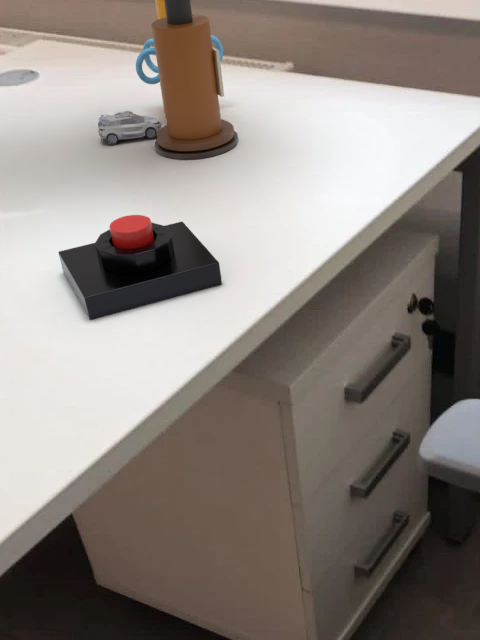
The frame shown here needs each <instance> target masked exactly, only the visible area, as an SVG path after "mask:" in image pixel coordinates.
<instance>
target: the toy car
mask: <svg viewBox="0 0 480 640" xmlns="http://www.w3.org/2000/svg"><path fill="white" fill-rule="evenodd" d="M97 127H98V131H97V132H98V135H99V137H100V139H101V142H104V141H103V140H106V142H107V144H108V145H110V146H115V145H117V144H118V142H119V141H120V140H122V141H123V140H130V139H139V138H144V137H146V138H147V139H149V140H153V139H155V138H157V132H158V131H159V130H160V129H161V128H163V127H164V126H162V122H161V120H160V119H159V118H157V117H156V116H153V115H139V114H136V113H134V112H133V111H130V110H124V111H120V112H116V113H114V114H100V116H98V122H97Z"/></svg>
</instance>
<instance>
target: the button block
mask: <svg viewBox="0 0 480 640" xmlns="http://www.w3.org/2000/svg"><path fill="white" fill-rule="evenodd" d="M151 224H152V229H153V235H154V241H153V242H152V243H150V244H148V245H147V246H143V247H139V248H135V249H119V248H116V247H114V245H113V241H112V236H111V232H110V228H109V229H108V230H105V231H104V232H102V233H100V234H99V236H98V238H97V239H96V240H95V242H93V243H88V244H84V245H80V246H76V247H71V248H68V249H64V250H60V251H58V257H59V261H60V265H61V269H62V273H63V274H64V276H65V278H66V280H67V282H68V283H69V286H70V288H71V289H72V291H73V292H74V295H75V296H76V298H77V299H78V301H79V303H80V305H81V307H82V309H83V311H84V313H85V314H86V316H87V317H88V320H89V321H92V320H97V319H99V318H104V317H107V316H111V315H115V314H119V313H122V312H126V311H129V310H133V309H137V308H142V307H144V306H145V307H146V306H148V305H152V304H155V303H159V302H163V301H167V300H170V299H171V300H172V299H174V298H178V297H181V296H185V295H189V294H192V293H197V292H200V291H204V290H207V289H212V288H214V287H219V286H222V285H223V281H222V273H221V266H220V265H221V264H220V262H219V260H218V259H216V257H215V256H214V255H213V254H212V253H211V252H210V251H209V250H208V248H207V247H206V246H205V245H204V244H203V243H202V241H200V239H199V238H198V237H197V236H196V235H195V234H194V232H193V231H191V229H190V228H189V227H188V225H186V224H185V222H184V221H178V222H175V223H170V224H165V225H163V224H159V223H156V222H152V221H151Z"/></svg>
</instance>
